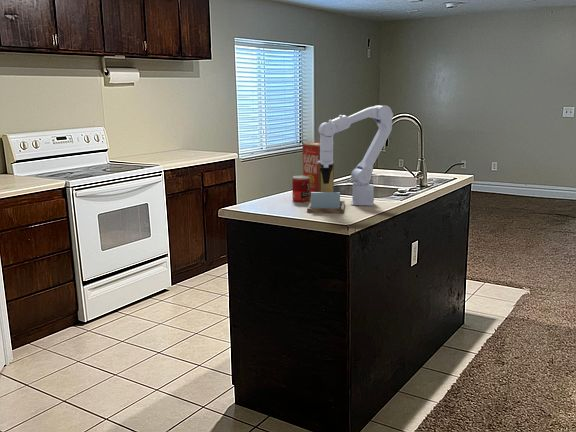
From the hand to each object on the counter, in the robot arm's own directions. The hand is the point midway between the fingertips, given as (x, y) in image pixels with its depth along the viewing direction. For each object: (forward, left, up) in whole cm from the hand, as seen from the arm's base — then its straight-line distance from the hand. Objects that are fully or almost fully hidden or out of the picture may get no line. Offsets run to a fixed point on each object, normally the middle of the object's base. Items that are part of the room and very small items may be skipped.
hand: (326, 182), depth 248 cm
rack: (0, +6, -10) cm, 12 cm away
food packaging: (+5, -23, -11) cm, 26 cm away
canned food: (+12, -11, -10) cm, 19 cm away
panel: (0, +12, -10) cm, 16 cm away
